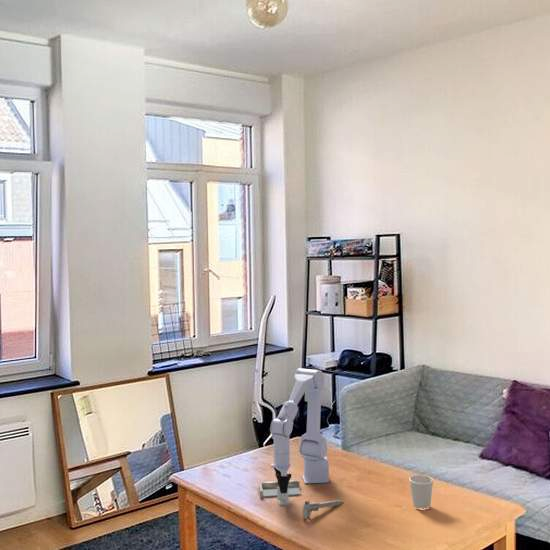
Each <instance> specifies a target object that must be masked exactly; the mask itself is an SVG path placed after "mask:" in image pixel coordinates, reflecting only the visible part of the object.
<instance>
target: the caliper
mask: <svg viewBox="0 0 550 550" xmlns="http://www.w3.org/2000/svg"><path fill="white" fill-rule="evenodd" d="M343 502H344V501H342V500H341V499H336V500H330V501H324V502H317V501H316V502H311V501H310V500H307V501H306V500H305V501H304V504H303V508H302V519H303V520H305V521H306V520H307V519H308V518H309V519H311V515H312V512H313V511H314V512H318V511H319V509H322V508H323V509H324V508H328V507H334V506H340V505H341V504H344V503H343Z"/></svg>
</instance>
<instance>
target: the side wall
mask: <svg viewBox="0 0 550 550" xmlns="http://www.w3.org/2000/svg"><path fill="white" fill-rule="evenodd" d="M258 493H259V498H260V499H263V489H262V484H261V483H260V482H258Z"/></svg>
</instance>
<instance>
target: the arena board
mask: <svg viewBox="0 0 550 550" xmlns="http://www.w3.org/2000/svg"><path fill="white" fill-rule="evenodd" d="M262 489H263V497H267V498H277V487H272V488H262ZM299 495H301V496H302V493H301V490H300V487H298V486H289V487H288V497H295V496H296V497H298V496H299Z"/></svg>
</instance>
